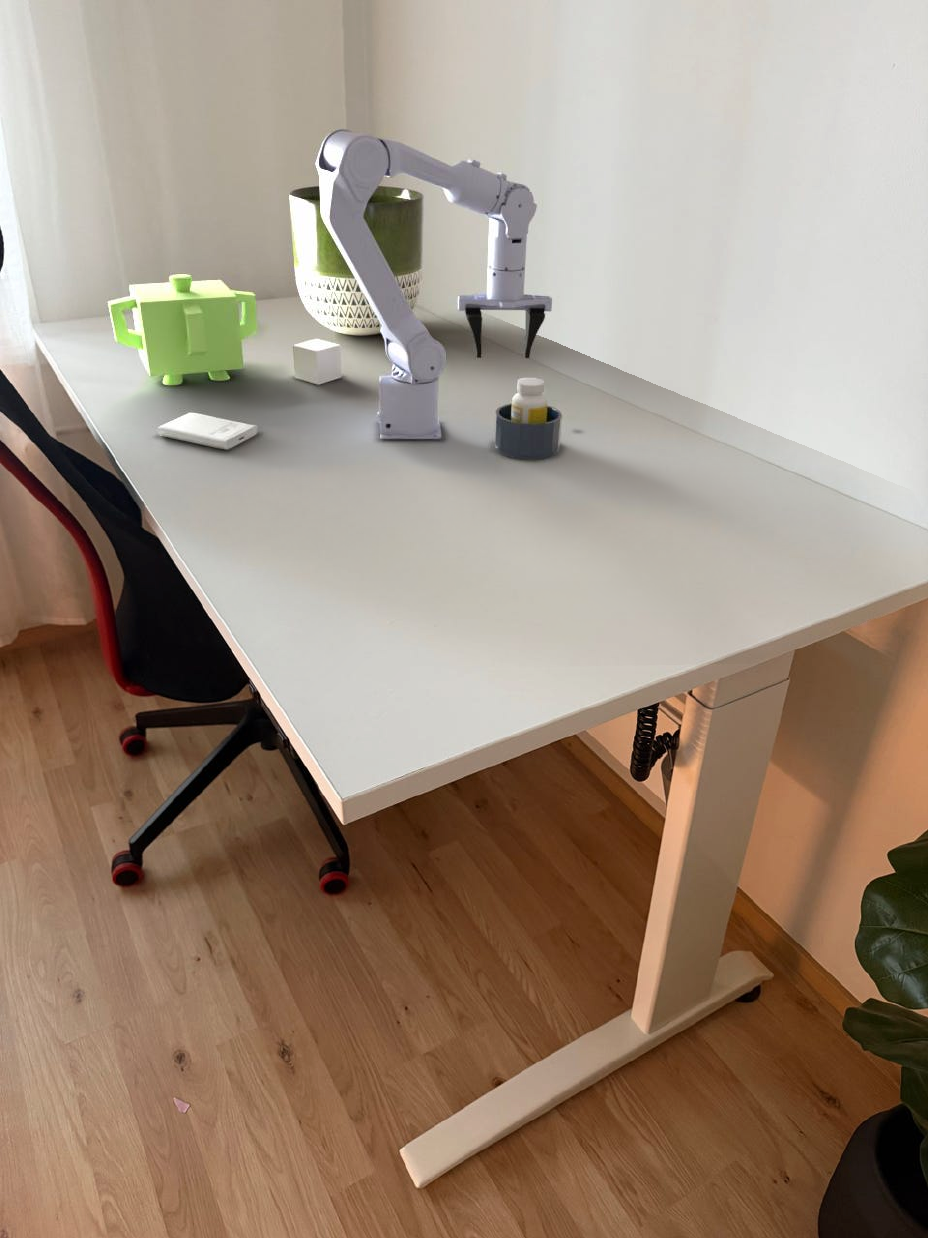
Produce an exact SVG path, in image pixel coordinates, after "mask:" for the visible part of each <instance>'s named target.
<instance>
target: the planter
mask: <svg viewBox="0 0 928 1238" xmlns="http://www.w3.org/2000/svg"><path fill="white" fill-rule="evenodd" d="M424 199H425V198H424V194H423V193H421V192H420V191H417V190H414V189H409V188H403V187H395V186H385V185H379V186H378V187H377V188H376V190H375V191H374V193H373V194H372V196H371V197H370V199H369V200H368V202H367V205H366V208H365V211H364V215H363V218H364V220H365V222H366V224H367V226H368V227H369V229H370V231H371V233H372V235H373V237H374V239H375V241H376V243H377V245H378V246H379V248H380V250H381V252H382V254H383V256H384V258H385V260H386V262H387V264H388V265H389V267H390V269H391V271H392V273H393V275H394V277H395V279H396V281H397V282H398V284H399V286H400V288H401V290H402V292H403V294H404V296H405V298H406V300H407V301H408V303H409V305H410V307H411V309H412V311H414V309H415V307H416V305H417V303H418V300H419V297H420V294H421V289H422V281H423V262H424V217H425V210H424V208H425V207H424V205H425V202H424V201H425V200H424ZM288 201H289V202H288V203H289V217H290V226H291V228H290V229H291V240H292V242H291V243H292V253H293V264H294V265H293V266H294V276H295V283H296V287H297V291H298V294H299V297H300V299H301V302H302V304H303V306H304V308H305V309H306V311H307V312H308V313H309V314H310V316H311V317H312V318H314V319H315V320H316V321H317V322H318V323H320V325H322V326H324V327H326V328H327V329H329V330H331V331H333V332H337V333H339V334H343V335H349V336H374V335H379V334H381V332H380V330H381V326H382V325H381V323H380V322H379V320H378V318H377V316H376V314H375V313H374V311H373V309H372V307H371V305H370V304H369V302H368V300H367V298H366V296H365V295H364V293H363V291H362V289H361V288H360V286H359V284H358V282H357V280H356V279H355V277H354V275H353V273H352V271H351V270H350V268H349V266H348V264H347V262H346V261H345V259H344V257H343V255H342V253H341V252H340V250H339V248H338V246H337V245H336V243H335V241H334V239H333V237H332V236H331V234H330V232H329V230H328V228H327V227H326V225H325V223H324V221H323V219H322V216H321V200H320V185H316V186H315V185H313V186H306V187H301V188H296V189H292V190H291V191H290V192H289V193H288Z"/></svg>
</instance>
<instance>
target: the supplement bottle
mask: <svg viewBox="0 0 928 1238" xmlns="http://www.w3.org/2000/svg"><path fill="white" fill-rule="evenodd" d="M516 386H517V387H516V388H517V389H516V390H517V393H515V394H514V395H513V396H512V398H511V403H512V410H511V421H514V422H519V423H530V424H536V423H546V419H547V405H549V404H548V398H547V396H546V395H545V394H543V393H544V391H545V381H544V380H543V379H541V378H537V377H522V378H519V379H518V380H517V385H516Z"/></svg>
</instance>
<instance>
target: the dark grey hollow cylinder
mask: <svg viewBox="0 0 928 1238" xmlns="http://www.w3.org/2000/svg"><path fill="white" fill-rule="evenodd" d="M511 410H512V402H511V403H506V404H503V405H501V406H498V407H497V409H496V410H495V411H494V430H493V431H494V433H493V435H494V436H493V448H494V450H495V451H496V452H498V453H499V454H501V455H503V456H506V457H508V458H512V459H518V460H526V461H527V460H529V461H530V460H531V461H532V460H533V461H534V460H542V459H543V460H544V459H547V458H551V457H554V456H555V455H557V454H558V453H559V451H560V446H561V435H562V424H563V414H562V412H561V410H559V409H557V408H555V406H554V407H553V406H551V405H549V404H547V419H546V423H536V424H530V423H519V422H514V421H511Z"/></svg>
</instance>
